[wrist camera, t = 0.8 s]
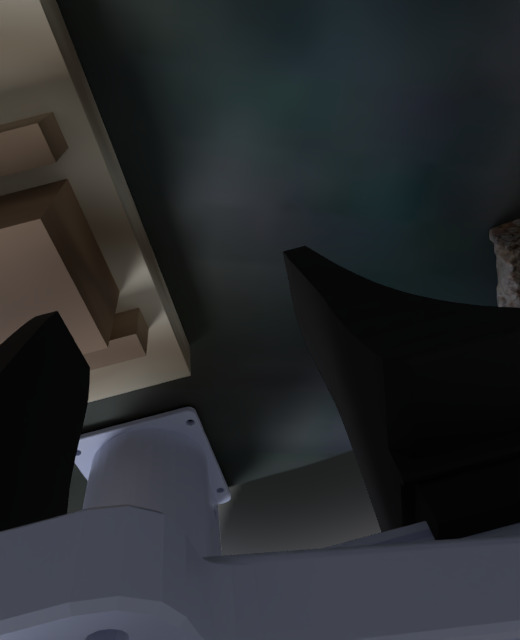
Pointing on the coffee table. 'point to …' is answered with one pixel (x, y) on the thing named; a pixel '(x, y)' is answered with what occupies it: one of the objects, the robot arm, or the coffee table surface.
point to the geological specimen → (507, 262)
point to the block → (53, 266)
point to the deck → (84, 191)
